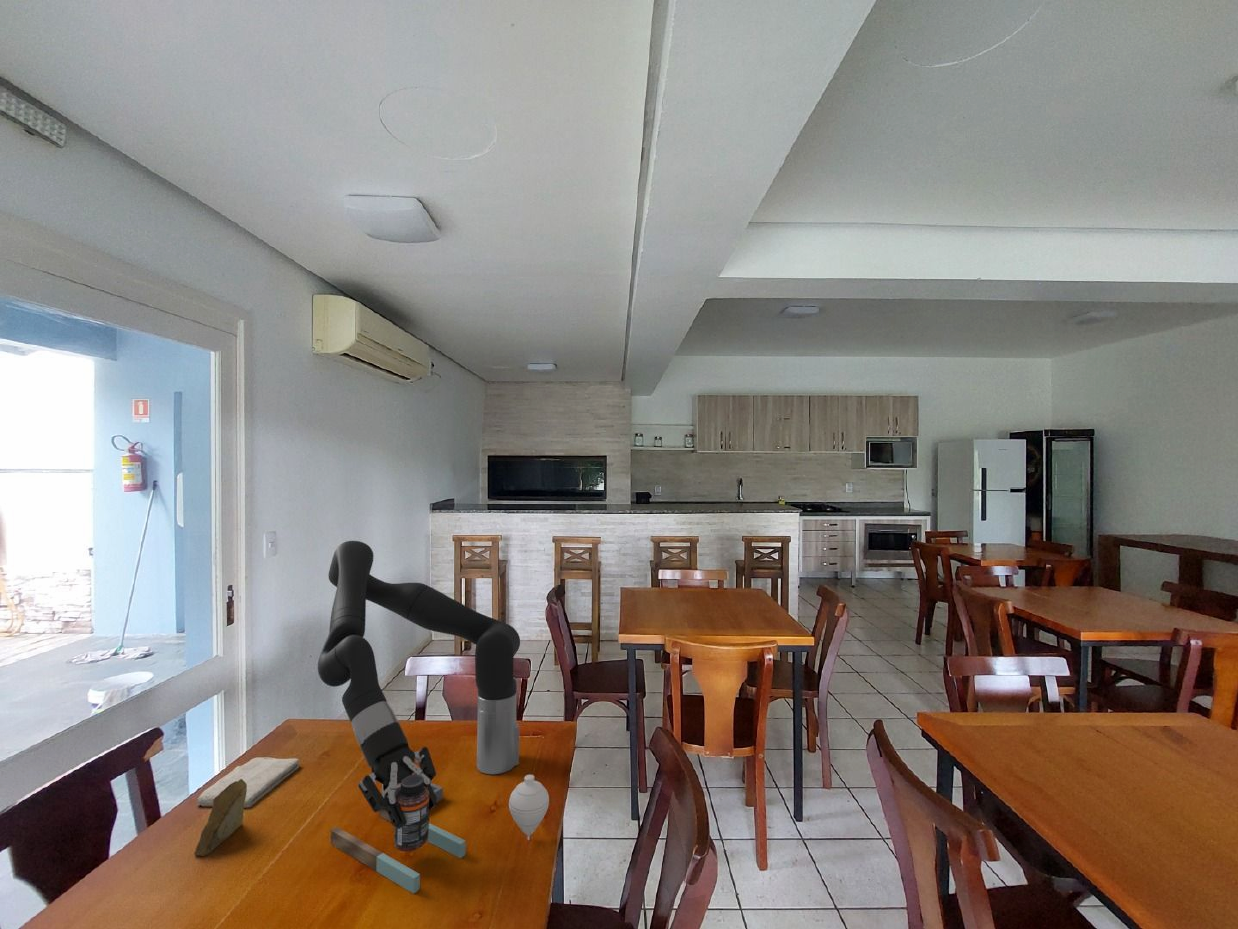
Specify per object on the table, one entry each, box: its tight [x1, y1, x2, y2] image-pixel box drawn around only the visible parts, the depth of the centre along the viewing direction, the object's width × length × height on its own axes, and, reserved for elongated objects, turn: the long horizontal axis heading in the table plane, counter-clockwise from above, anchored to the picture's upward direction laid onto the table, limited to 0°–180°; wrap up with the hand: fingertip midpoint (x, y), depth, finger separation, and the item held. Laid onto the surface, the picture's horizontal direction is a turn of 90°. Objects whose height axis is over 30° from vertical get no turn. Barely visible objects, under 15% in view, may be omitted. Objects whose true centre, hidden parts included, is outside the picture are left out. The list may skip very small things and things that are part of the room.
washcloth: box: [196, 756, 300, 809], centre depth 125 cm, size 12×18×3 cm, turn 178°
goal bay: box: [375, 822, 467, 894], centre depth 100 cm, size 10×11×2 cm
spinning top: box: [508, 774, 550, 841], centre depth 107 cm, size 8×8×12 cm
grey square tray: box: [396, 781, 444, 804], centre depth 118 cm, size 9×9×2 cm
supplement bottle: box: [393, 774, 430, 852], centre depth 101 cm, size 6×6×11 cm
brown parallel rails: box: [330, 810, 392, 872], centre depth 106 cm, size 14×11×2 cm
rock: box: [193, 779, 247, 857], centre depth 106 cm, size 11×9×10 cm
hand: (417, 816), depth 100 cm, fingers closed on supplement bottle, 6 cm apart
